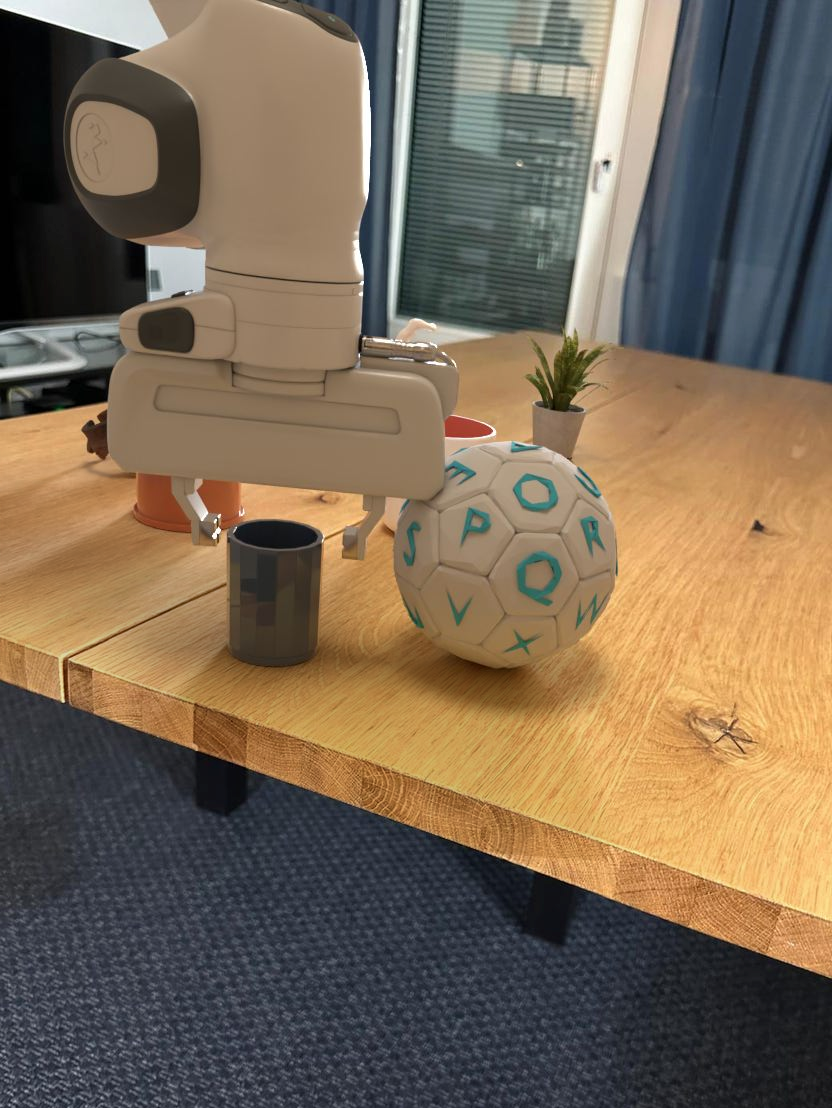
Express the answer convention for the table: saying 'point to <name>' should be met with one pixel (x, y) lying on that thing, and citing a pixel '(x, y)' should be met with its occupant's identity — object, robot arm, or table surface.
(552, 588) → the puzzle ball
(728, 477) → the table surface
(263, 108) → the robot arm
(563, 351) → the house plant
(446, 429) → the cup
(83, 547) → the table surface
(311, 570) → the slate cup
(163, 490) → the orange stepped cylinder
